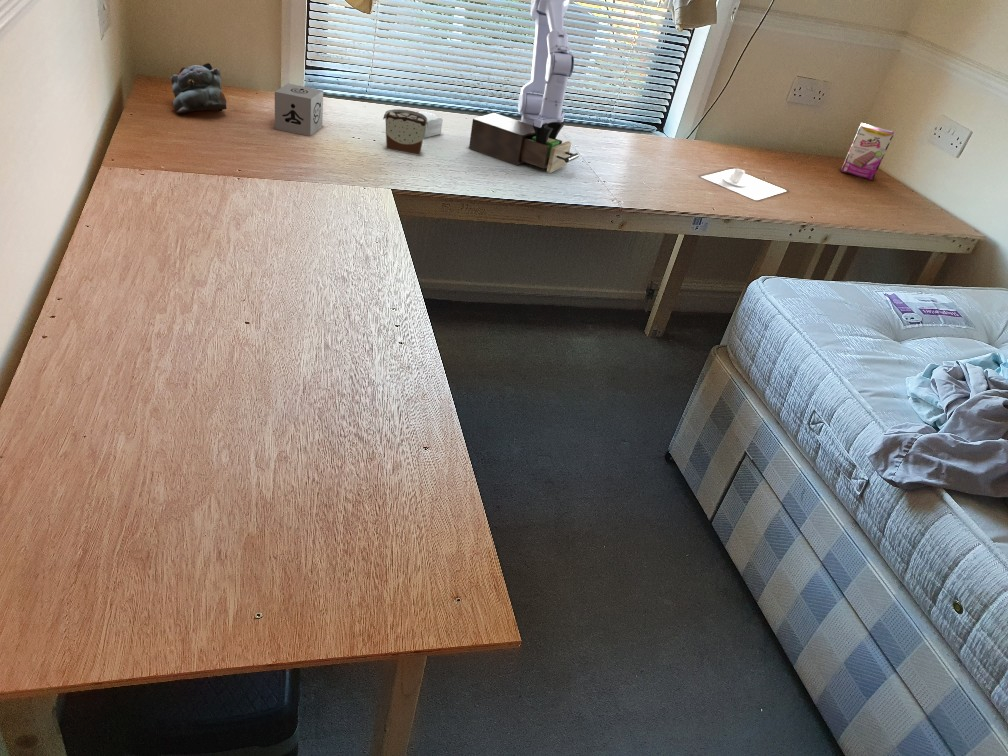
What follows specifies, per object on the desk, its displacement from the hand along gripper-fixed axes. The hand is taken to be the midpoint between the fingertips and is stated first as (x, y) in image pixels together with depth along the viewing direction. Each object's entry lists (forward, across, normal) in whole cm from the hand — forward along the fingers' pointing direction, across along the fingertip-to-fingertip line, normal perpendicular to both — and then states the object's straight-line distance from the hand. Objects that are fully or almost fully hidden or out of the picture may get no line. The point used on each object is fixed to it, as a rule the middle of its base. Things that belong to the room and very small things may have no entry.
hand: (544, 148), depth 216 cm
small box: (+5, -6, +37) cm, 38 cm away
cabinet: (+5, 0, +13) cm, 14 cm away
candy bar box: (+5, +97, -76) cm, 123 cm away
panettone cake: (+5, -23, +31) cm, 39 cm away
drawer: (+4, 0, 0) cm, 4 cm away
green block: (+1, 0, 0) cm, 1 cm away
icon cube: (+5, -35, +59) cm, 69 cm away
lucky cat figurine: (+5, -49, +83) cm, 97 cm away
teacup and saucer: (+5, +45, -49) cm, 67 cm away
